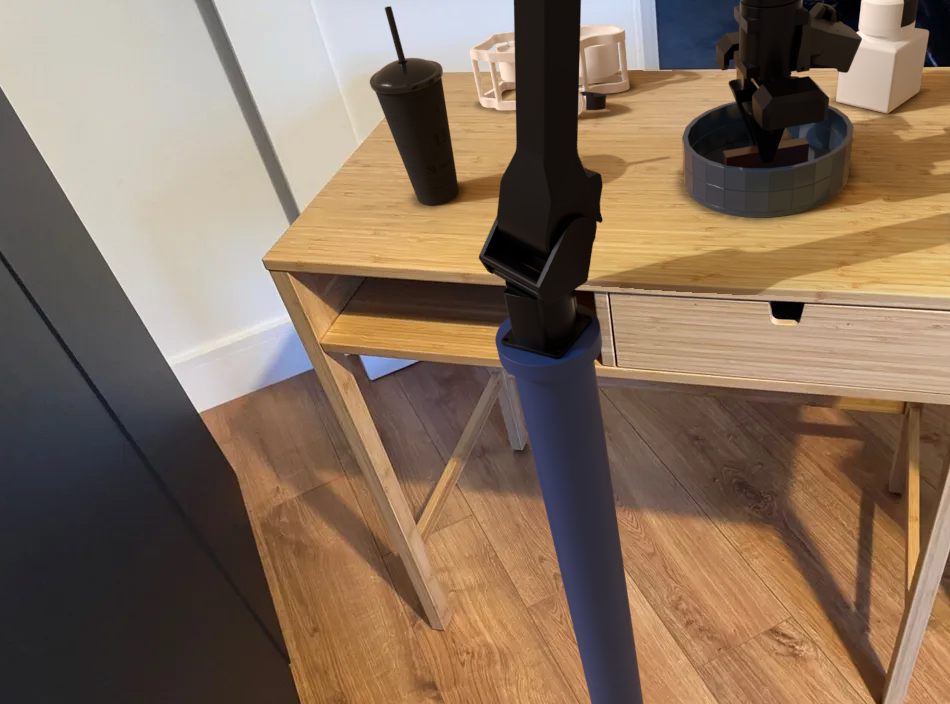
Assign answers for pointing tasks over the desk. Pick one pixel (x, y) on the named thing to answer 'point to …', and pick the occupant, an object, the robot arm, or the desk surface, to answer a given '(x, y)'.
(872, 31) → the medicine bottle
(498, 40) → the skeletal toy car
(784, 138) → the bead
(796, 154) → the brown rectangular block
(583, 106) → the watch
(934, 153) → the desk surface
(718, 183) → the bowl
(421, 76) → the drinking cup
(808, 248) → the desk surface
